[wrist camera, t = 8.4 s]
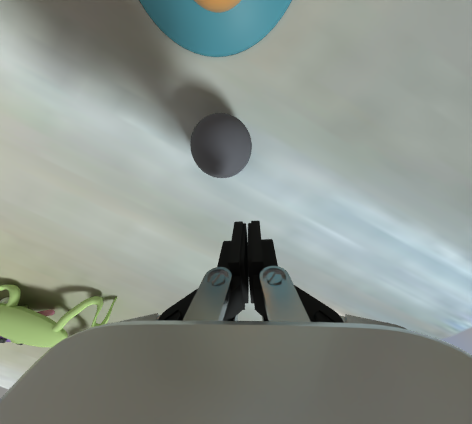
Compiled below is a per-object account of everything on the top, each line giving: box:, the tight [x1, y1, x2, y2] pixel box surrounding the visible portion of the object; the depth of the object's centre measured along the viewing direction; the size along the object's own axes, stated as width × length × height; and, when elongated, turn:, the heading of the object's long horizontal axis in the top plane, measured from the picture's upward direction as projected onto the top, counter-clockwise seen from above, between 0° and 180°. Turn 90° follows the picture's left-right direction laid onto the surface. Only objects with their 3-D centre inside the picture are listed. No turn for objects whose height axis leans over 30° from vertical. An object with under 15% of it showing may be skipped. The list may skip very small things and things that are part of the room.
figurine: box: [0, 284, 117, 347], centre depth 30 cm, size 18×27×6 cm
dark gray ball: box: [191, 113, 252, 178], centre depth 16 cm, size 6×6×6 cm
